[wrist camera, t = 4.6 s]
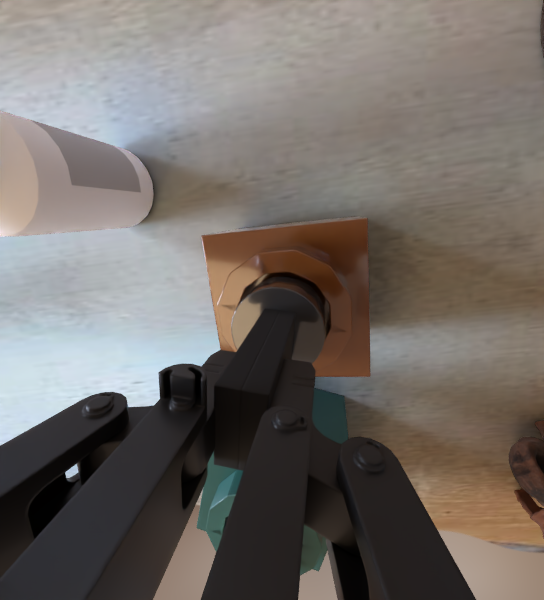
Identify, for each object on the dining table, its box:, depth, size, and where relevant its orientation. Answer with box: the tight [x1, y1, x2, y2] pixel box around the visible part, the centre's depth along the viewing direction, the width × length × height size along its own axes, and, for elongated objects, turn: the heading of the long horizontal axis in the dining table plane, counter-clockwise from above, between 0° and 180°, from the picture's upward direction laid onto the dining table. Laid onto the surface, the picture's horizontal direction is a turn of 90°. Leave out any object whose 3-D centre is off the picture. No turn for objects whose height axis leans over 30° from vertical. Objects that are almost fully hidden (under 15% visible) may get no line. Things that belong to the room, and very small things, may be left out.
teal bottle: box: [197, 388, 348, 575], centre depth 25 cm, size 10×9×12 cm
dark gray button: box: [231, 276, 325, 364], centre depth 16 cm, size 5×5×2 cm
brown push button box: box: [201, 216, 370, 377], centre depth 21 cm, size 10×10×10 cm
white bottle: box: [0, 111, 154, 237], centre depth 18 cm, size 7×7×18 cm
